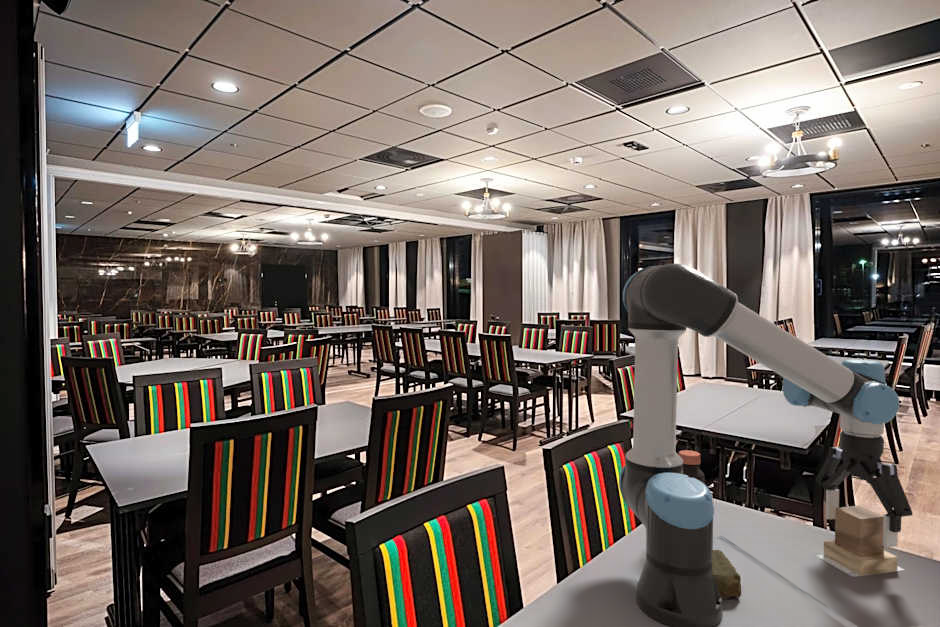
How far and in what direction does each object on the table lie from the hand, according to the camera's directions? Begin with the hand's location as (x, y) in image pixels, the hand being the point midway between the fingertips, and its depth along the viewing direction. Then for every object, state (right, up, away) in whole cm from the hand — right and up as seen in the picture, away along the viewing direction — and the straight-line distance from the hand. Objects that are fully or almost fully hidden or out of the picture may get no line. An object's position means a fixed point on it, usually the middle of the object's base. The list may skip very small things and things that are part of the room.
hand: (859, 531), depth 114 cm
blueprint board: (0, -8, 0) cm, 8 cm away
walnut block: (0, -4, 0) cm, 4 cm away
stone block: (-33, -9, -6) cm, 35 cm away
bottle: (-30, -8, +17) cm, 35 cm away
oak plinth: (0, -7, 0) cm, 7 cm away
